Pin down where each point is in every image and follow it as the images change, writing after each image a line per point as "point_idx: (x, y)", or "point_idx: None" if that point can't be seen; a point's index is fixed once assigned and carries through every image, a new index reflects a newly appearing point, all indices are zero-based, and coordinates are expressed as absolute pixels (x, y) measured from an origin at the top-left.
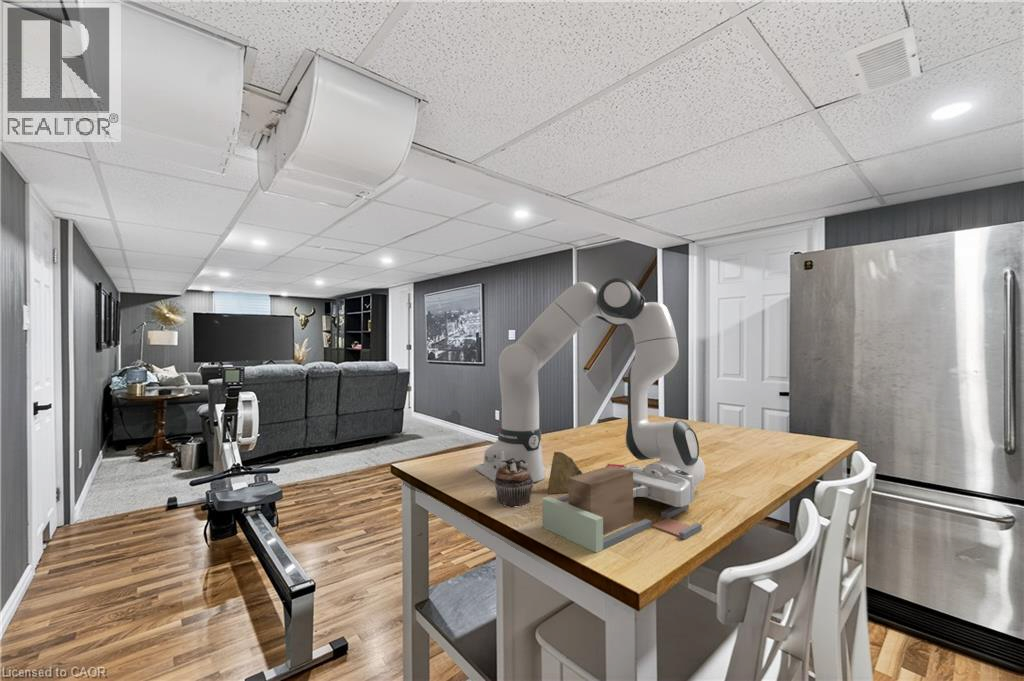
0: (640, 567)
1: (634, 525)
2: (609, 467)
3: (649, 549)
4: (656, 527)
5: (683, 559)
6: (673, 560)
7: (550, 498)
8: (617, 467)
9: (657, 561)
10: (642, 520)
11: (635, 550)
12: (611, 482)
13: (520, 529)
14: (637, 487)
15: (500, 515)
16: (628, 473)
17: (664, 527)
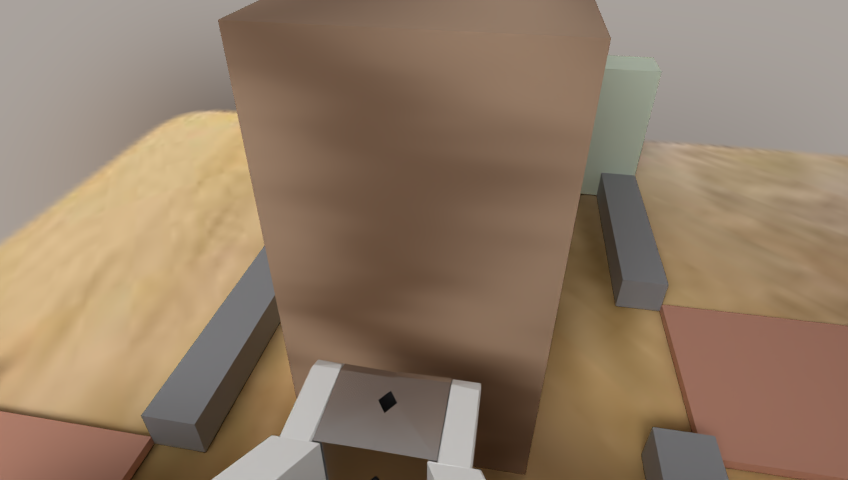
0: (190, 159)
1: (255, 299)
2: (553, 13)
3: (163, 236)
4: (116, 434)
5: (13, 240)
6: (63, 221)
7: (633, 65)
8: (477, 31)
9: (130, 196)
10: (216, 383)
11: (221, 210)
12: None
13: (653, 146)
14: (273, 471)
15: (827, 169)
16: (263, 4)
17: (46, 458)
